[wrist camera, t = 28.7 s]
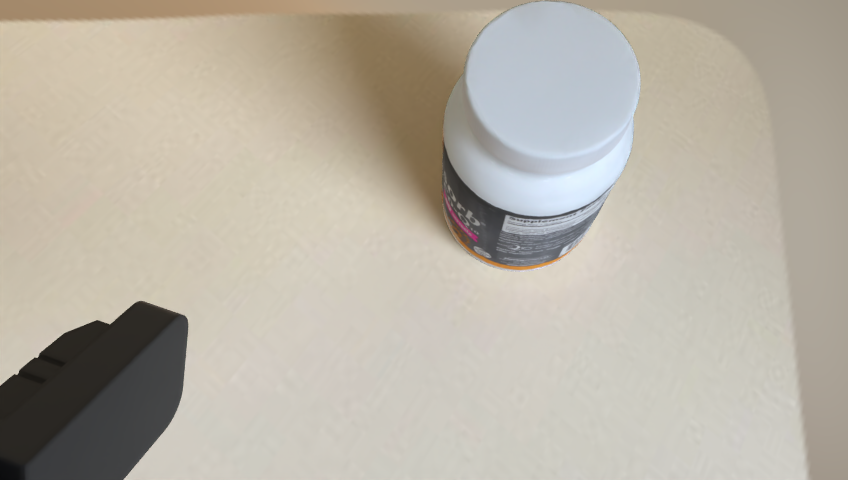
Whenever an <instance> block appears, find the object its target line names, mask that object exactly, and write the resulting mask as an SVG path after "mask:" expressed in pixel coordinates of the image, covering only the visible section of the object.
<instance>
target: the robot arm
mask: <svg viewBox="0 0 848 480" xmlns="http://www.w3.org/2000/svg"><path fill="white" fill-rule="evenodd" d="M187 336H188V320H187V318H186V316H184V315H181V314H179V313H176V312H173V311H170V310H167V309H164V308H161V307H158V306H155V305H153V304H150V303H147V302H144V301H139V302H136V303H135V304H133V305H132V306H131V307H130V308H128V309H127V310H126V311H125V312H124V313H123V314H122V315H120V316H119V317H118V318H117V319H116V320H115V321H114V322H112V323H111V324H107V323H104V322H101V321H98V320H96V321H94V322H91V323H89V324H86V325H84V326H81V327H79V328H76V329H74V330H71V331H69V332H66V333H64V334H63V335H62V336H60V337H59V338H58V339H57V340H55V341H54V342H53V343H52V344H51V345H49V346H48V347H47V348H46V349H44V350H43V351H42V352H41V353H40V354H39V357H38V358H34V359H32V360H31V361H30V362H29V363H27V364H26V365H25V366H24V367H23V368H21V369H20V370H19V373H18V375H15V374H14V375H13V376H12V377H10V378H9V379H8V380H7V381H5V382H4V383H3V384H2V385H1V386H0V480H123V479H124V478H125V477H126V476H127V475H128V473H129V472H130V471H131V470H132V469H133V468H134V466H135V465H136V464H137V463H138V462H139V460H140V459H141V458H142V457H143V456H144V454H145V453H146V452H147V451H148V450H149V448H150V447H151V446H152V445H153V444H154V442H155V441H156V440H157V439H158V438H159V437H160V435H161V434H162V433H163V432H164V431H165V429H166V428H167V427H168V425H169V424H170V422H171V420H172V419H173V417H174V415H175V413H176V411H177V408H178V406H179V403H180V400H181V396H182V391H183V381H184V370H185V359H186V347H187Z"/></svg>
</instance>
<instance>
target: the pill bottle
mask: <svg viewBox="0 0 848 480" xmlns="http://www.w3.org/2000/svg"><path fill="white" fill-rule="evenodd" d="M639 95H640V70H639V65H638V61H637V58H636V56H635V53H634V51H633V49H632V47H631V45H630V44H629V42H628V41H627V39H626V38H625V36H624V35H623V34H622V33H621V32H620V30H619V29H618V28H617V27H616V26H615V25H613V24H612V23H611V22H610V21H609V20H608V19H606V18H605V17H603V16H601V15H600V14H598V13H597V12H595V11H593V10H591V9H588V8H586V7H583V6H581V5H577V4H573V3H570V2H563V1H548V0H545V1H535V2H530V3H525V4H521V5H518V6H516V7H513V8H511V9H509V10H507V11H505V12H503V13H501V14H500V15H498V16H497V17H496V18H494V19H493V20H492V21H490V22H489V23H488V24H487V25H486V26H485V27H484V28H483V29H482V30H481V31H480V33H479V34H478V35H477V37H476V39H475V40H474V42H473V43H472V45H471V47H470V49H469V52H468V54H467V57H466V62H465V66H464V73H463V74H462V76H461V77H460V78H459V80H458V81H457V83H456V85H455V86H454V88H453V90H452V92H451V94H450V97H449V99H448V102H447V105H446V110H445V114H444V121H443V160H442V165H443V175H442V204H443V210H444V215H445V219H446V222H447V224H448V227H449V229H450V231H451V233H452V234H453V236H454V238H455V239H456V241H457V242H458V243H459V244H460V246H461V247H462V248H463V249H465V250H466V251H467V252H468V253H469V254H470V255H471V256H473V257H474V258H476V259H477V260H479V261H480V262H482V263H485V264H486V265H488V266H491V267H494V268H498V269H501V270H507V271H517V272H520V271H532V270H537V269H541V268H544V267H547V266H549V265H552V264H554V263H556V262H557V261H559V260H561V259H562V258H564V257H565V256H566V255H568V254H569V253H570V252H571V251H572V250H573V249H574V248H575V247H576V246H577V245H578V244H579V243H580V242H581V240H582V239H583V237H584V236H585V234H586V233H587V232H588V230H589V228H590V227H591V225H592V223H593V221H594V220H595V218H596V216H597V215H598V213H599V211H600V209H601V207H602V206H603V204H604V201H605V200H606V198H607V196H608V194H609V193H610V191H611V189H612V188H613V186H614V185H615V183H616V181H617V180H618V178H619V176H620V175H621V173H622V171H623V169H624V168H625V166H626V163H627V161H628V158H629V155H630V152H631V149H632V143H633V135H634V120H633V115H634V112H635V110H636V107H637V104H638V101H639Z"/></svg>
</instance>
